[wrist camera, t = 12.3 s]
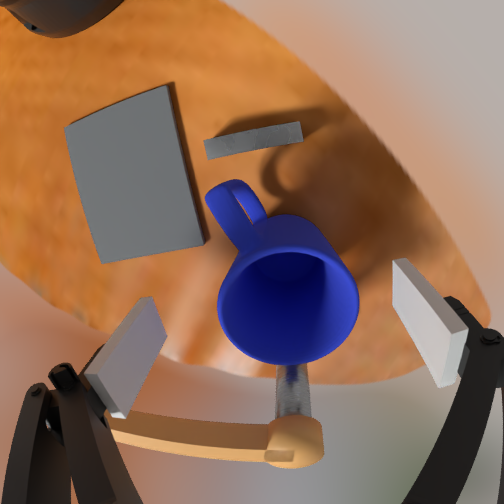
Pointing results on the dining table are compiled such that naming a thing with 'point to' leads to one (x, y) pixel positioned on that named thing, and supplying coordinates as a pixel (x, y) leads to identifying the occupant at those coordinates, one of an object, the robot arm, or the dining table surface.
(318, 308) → the mug
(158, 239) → the coaster
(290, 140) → the dock
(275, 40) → the dining table surface
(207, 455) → the ball-tipped wooden rod
